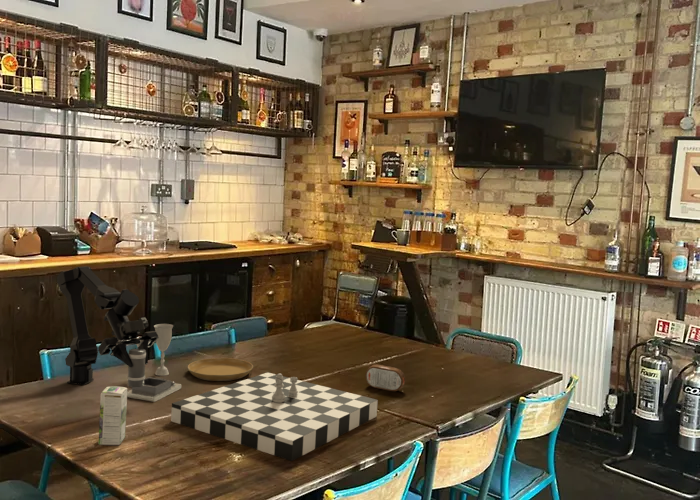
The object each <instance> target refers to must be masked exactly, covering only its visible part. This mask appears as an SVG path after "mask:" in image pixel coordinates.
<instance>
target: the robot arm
mask: <svg viewBox="0 0 700 500" xmlns="http://www.w3.org/2000/svg"><path fill="white" fill-rule="evenodd" d="M56 282H57V284H58V289H59V291H60V292H61V294H63V296H64V297H65V299H66V303H67V308H68V314H69V318H70V319H69V320H70V325H71V332H72V336H73V338H72V341H71V343H70V345H69V350H70V351H69V353H68V354H67V356H66V357H65V358H64V359H65V365H66V366H67V367H69V380H68V381H66V383H67V384H70V385H73V384H74V385H83V386H85V385H86V384H88V383H90V382H93V381H94V379H95V378H93V372H94V371H93V370H94V369H93V368H92V365H95V364H96V363H97V359H98V355H100V356H105V355H110V356H111V357H112V356H113V357H115V358H117V359H118V360H120V362H122V363H124V364H125V365H126V366H127V367H128V366H129V367H132V366H133V364H132V361H131V359H130V357H129V351H128V350H127V347H128V346H133V345H136V347H137V348H136V349H145V350H146V357H145V365H148V363H149V359H148V357H149V356H148V348H150V347H152V346H153V345H154V344H156V340H157V339H158V338H159V336H158V334H157V332H155V330H152V331H146V332H145V329H146V328H148V327H149V322H148V321H149V320H147V318H146V316H145V317H140V318H139V319H138V320H130V319H129V317H128V316H130V315H131V314H132V312H133V311H134V309H135V308H136V307H137V305H139V303H140V299H139V297H138V295H137V294H135V293H134V292H131V291H130V290H129V289H128V288H125V289H122V290H121V291H119V289H116V288H115V287H112V286H108V285H107V284H106V283H105V282H103V281H102V280H101V279H100V278H99V276H97V274H96V273H94V271H93V270H92V268H91V267H90V266H85V265H84V266H77V267H74V268H72V269H70V270H64V271H60V273H59V274H58V275H57V277H56ZM84 288H87V290H88V291H89V292H90V293H91V294H92V295H93V296H94V303H95V304H96V306H97V307H98V308H99V309H100V310H108V311H107V312H105V316H104V317H103V321H105V322H107V321H108V323H109V325H110V328H111V329H112V331H111V335H112V336H114V337H106V338H103V340H102V342H101V343H100V344H99V346H98V345H97V339H96V338H94V337H91V335H90V334H89V330H88V324H87V320H86V319H87V317H86V311H85V307H84V302H83V297H82V294H83V291H84ZM141 331H144V333H143V334H142V336H141V337H138V336H140V333H141Z"/></svg>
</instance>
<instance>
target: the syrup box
mask: <svg viewBox="0 0 700 500" xmlns="http://www.w3.org/2000/svg"><path fill="white" fill-rule="evenodd" d="M127 392H128V388H127V387H124V386H116V385H115V386H114V385H113V386H106V387H105V388H104V389H103V390H102V391H101V393H100V402H99V419H98V420H99V421H98V423H99V427H98V445H99V446H100V445H101V446H103V445H104V446H120V445H121V444H122V442H123V441H124V439H126V427H127V408H128V407H127V406H128V404H127V402H128V397H127Z"/></svg>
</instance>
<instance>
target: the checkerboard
mask: <svg viewBox="0 0 700 500" xmlns="http://www.w3.org/2000/svg"><path fill="white" fill-rule="evenodd" d="M378 401H379V400H378V399H375V398H373V397H372V398H371V397H368V396H364V395H360V394H356V393H351V392H347V391H344V390H339V389H335V388H332V387H328V386H324V385H319V384H315V383H312V382H307V381H304V380H303V381H302V380H299V379H298V377H297V376H291V377H289V376H283V374H282V373H277V374H275V373H271V372H265V373H261V374H259V375H256V376H253V377H248V378H247V379H243V380H239V381H237V382H234V383H231V384H227V385H224V386H221V387H219V388H214V389H211V390H210V391H205V392H203V393H200V394H196V395H193V396H190V397H187V398H184V399H181V400H177V401H175V402H172V403H171V417H170V420H171V422H173V423H176V424H178V425H181V426H184V427H188V428H190V429H193V430H197V431H198V432H199V431H200V432H203V433H206V434H209V435H211V436H215V437H218V438H221V439H225V440H227V441H230V442H232V443H236V444H239V445H241V446H245V447H249V448H250V449H254V450H257V451H260V452H263V453H266V454H270V455H272V456H275V457H278V458H281V459H285V460H287V461H291V462H293V461H294V460H297V459H298V458H301V457H302V456H304V455H307V454H308V453H310V452H312V451H314V450H315V449H318V448H319V447H321V446H323V445H326V444H327V443H329V442H331V441H333V440H335V439H336V438H338V437H339V438H340V436H342V435H344V434H346V433H348V432H350V431H352V430H354V429H355V428H357V427H359V426H361V425H363V424H366V423H367V422H369V421H370V420H373V419H374V418H377V416H378V415H377V413H378Z"/></svg>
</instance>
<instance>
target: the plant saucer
mask: <svg viewBox="0 0 700 500" xmlns="http://www.w3.org/2000/svg"><path fill="white" fill-rule="evenodd" d="M253 368H254V365H253V364H252V363H251V362H249V361H247V360H243V359H240V358H239V359H238V358H231V357H230V358H229V357H213V358H212V357H211V358H205V359H204V358H203V359H199V360H195V361H193V362H190V363H189V364H188V365H187V370H188V371H189V373H190V374H191V375H192V376H193V377H195V378H196V379H197V378H198V379H200V380H203V381H210V382H230V381H236V380H241V379H242V378H244V377H246V376H247V375H248V374H249V373H251V371H252V370H253Z"/></svg>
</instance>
